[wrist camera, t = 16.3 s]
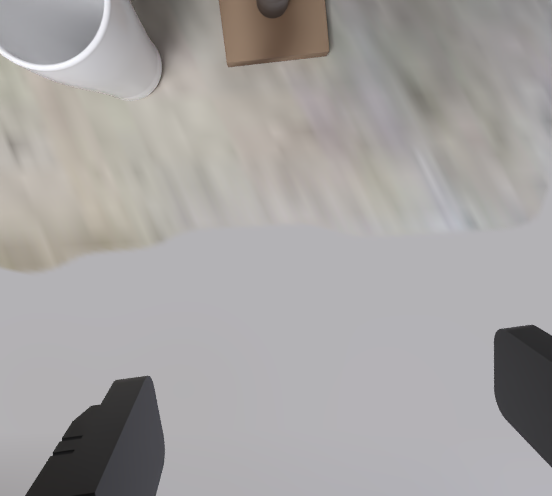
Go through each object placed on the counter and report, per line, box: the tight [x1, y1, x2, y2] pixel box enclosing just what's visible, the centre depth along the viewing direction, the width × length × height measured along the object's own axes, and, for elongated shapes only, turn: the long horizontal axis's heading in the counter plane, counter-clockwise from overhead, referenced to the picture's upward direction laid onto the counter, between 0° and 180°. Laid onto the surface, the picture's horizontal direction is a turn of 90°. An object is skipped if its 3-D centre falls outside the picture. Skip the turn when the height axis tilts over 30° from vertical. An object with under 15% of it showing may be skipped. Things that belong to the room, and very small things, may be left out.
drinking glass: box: [0, 0, 162, 101], centre depth 28 cm, size 7×7×15 cm
